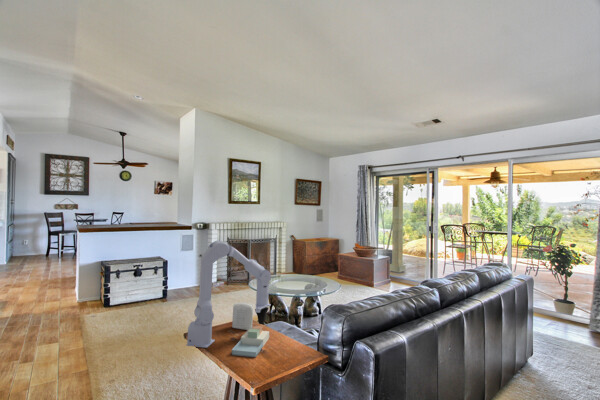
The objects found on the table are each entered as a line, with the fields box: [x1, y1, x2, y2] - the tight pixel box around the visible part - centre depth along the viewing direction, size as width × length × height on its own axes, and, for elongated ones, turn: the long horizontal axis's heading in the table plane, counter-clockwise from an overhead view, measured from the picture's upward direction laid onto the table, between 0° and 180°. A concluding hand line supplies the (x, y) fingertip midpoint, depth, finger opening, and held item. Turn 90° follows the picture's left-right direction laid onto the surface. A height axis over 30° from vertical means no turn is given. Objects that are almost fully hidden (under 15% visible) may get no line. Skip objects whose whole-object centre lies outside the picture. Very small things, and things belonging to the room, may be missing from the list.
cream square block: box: [240, 329, 270, 347], centre depth 139 cm, size 10×10×3 cm
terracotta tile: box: [251, 324, 264, 334], centre depth 141 cm, size 4×4×2 cm
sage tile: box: [248, 329, 260, 338], centre depth 137 cm, size 4×4×2 cm
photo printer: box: [231, 301, 254, 331], centre depth 155 cm, size 10×4×12 cm, turn 75°
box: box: [231, 339, 264, 358], centre depth 129 cm, size 10×10×2 cm
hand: (261, 323), depth 148 cm, fingers closed
